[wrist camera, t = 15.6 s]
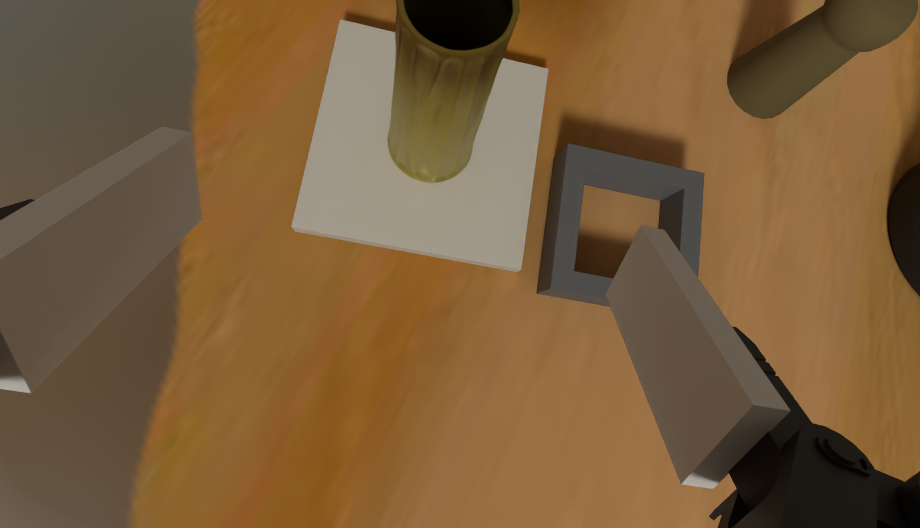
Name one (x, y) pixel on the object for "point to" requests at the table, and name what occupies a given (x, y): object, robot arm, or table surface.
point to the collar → (622, 175)
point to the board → (403, 198)
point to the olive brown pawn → (813, 51)
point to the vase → (444, 80)
